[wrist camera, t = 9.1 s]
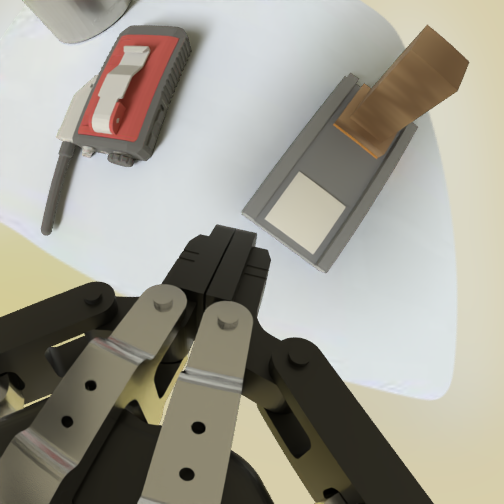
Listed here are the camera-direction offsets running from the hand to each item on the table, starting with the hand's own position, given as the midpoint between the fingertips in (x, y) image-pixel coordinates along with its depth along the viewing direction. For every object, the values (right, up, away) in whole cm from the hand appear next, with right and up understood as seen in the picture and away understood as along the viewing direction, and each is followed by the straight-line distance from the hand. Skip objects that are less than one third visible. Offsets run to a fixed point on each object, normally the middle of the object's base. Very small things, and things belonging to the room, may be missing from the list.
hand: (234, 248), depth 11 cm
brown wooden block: (+9, +9, +8) cm, 16 cm away
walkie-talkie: (-11, +10, +10) cm, 18 cm away
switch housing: (+7, +6, +11) cm, 14 cm away
